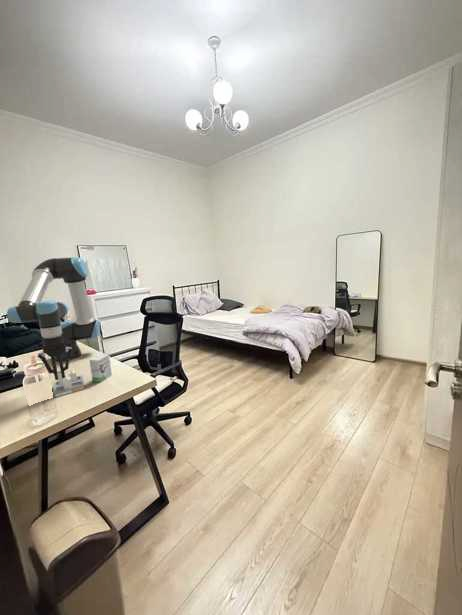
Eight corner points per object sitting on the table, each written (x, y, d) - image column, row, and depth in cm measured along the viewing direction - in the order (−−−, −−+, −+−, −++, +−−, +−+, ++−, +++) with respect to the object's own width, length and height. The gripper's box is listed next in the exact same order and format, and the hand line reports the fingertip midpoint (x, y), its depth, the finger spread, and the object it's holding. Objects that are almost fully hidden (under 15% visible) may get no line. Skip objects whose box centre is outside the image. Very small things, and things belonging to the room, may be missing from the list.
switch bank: (54, 386, 122) (53, 382, 122) (82, 379, 128) (82, 375, 128) (54, 397, 111) (53, 392, 111) (85, 389, 118) (84, 384, 117)
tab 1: (64, 387, 117) (62, 376, 116) (71, 385, 119) (69, 374, 118) (64, 390, 114) (62, 379, 113) (71, 388, 116) (70, 377, 115)
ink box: (103, 374, 133) (100, 353, 131) (112, 375, 132) (109, 353, 130) (92, 382, 124) (88, 359, 122) (101, 382, 123) (97, 360, 121)
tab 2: (69, 380, 124) (68, 370, 123) (76, 378, 126) (75, 368, 125) (70, 383, 121) (68, 373, 120) (77, 381, 123) (75, 371, 122)
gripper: (33, 341, 104) (43, 393, 108) (69, 334, 111) (78, 383, 115) (34, 337, 110) (44, 386, 114) (69, 331, 118) (77, 378, 122)
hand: (61, 385), depth 115 cm, fingers closed
